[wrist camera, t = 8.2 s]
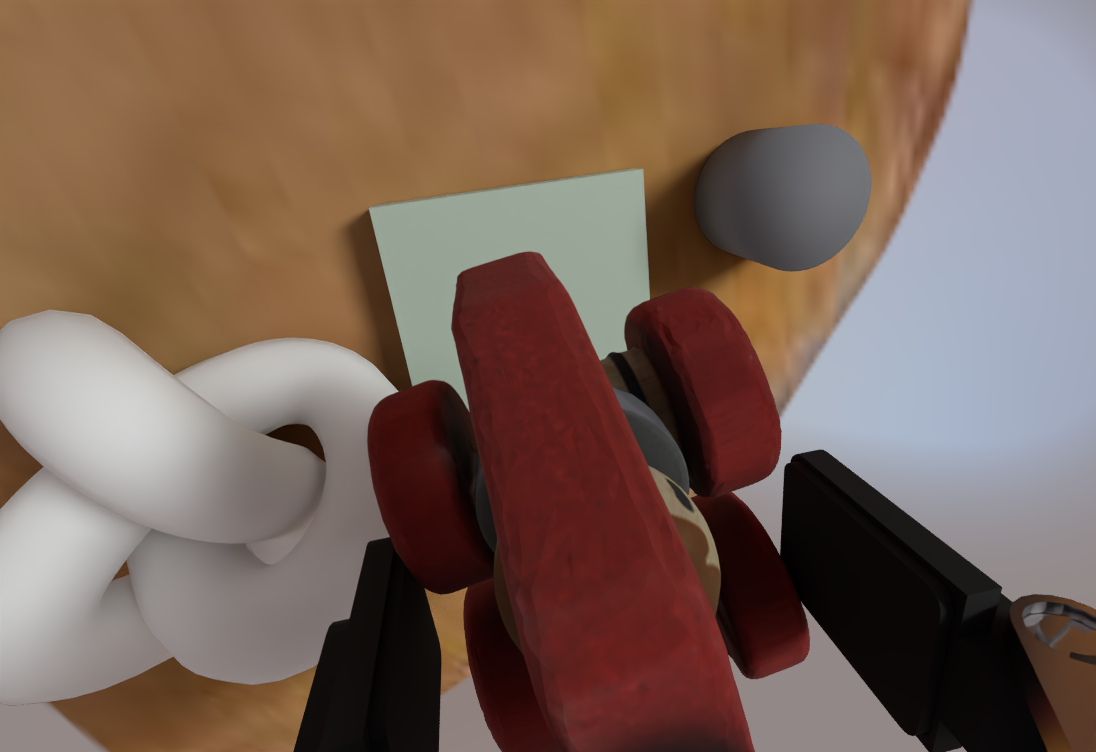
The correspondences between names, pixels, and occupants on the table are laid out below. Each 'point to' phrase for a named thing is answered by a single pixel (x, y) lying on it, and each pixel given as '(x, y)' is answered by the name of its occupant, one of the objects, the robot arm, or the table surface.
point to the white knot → (177, 507)
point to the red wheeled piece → (594, 515)
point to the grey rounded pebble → (784, 195)
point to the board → (506, 229)
